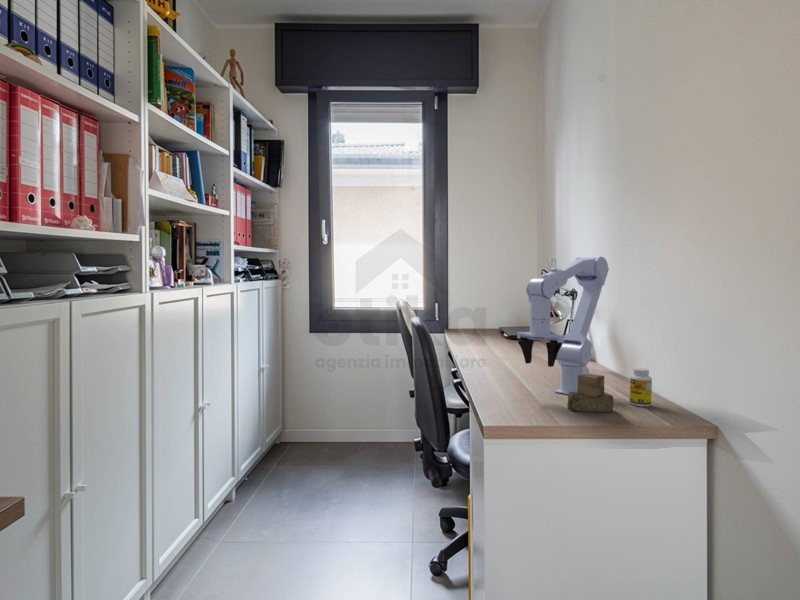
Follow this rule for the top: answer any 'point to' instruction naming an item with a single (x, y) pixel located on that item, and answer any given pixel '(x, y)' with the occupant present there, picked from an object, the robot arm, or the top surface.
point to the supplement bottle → (640, 388)
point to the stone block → (590, 402)
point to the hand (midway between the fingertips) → (539, 364)
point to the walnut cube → (591, 384)
